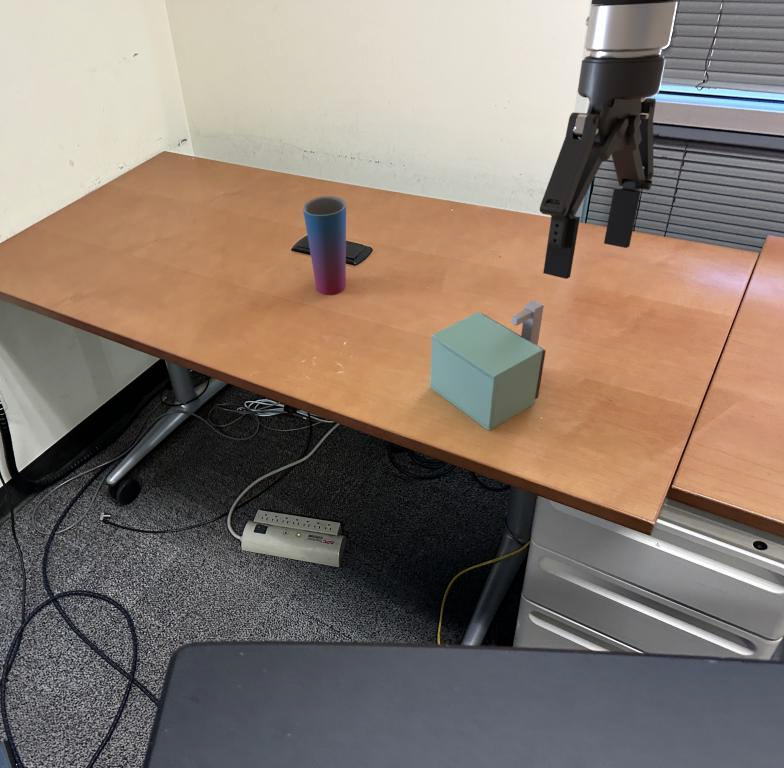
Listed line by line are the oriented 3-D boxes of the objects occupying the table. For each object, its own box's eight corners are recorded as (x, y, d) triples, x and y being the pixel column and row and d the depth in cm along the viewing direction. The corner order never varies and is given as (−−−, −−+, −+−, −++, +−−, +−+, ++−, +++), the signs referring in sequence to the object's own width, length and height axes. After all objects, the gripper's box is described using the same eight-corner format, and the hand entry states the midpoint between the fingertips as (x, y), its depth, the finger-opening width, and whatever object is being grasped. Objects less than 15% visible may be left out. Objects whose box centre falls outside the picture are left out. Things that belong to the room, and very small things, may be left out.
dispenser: (473, 364, 97) (477, 311, 91) (534, 404, 89) (543, 349, 84) (430, 387, 94) (431, 334, 89) (488, 431, 87) (494, 376, 81)
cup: (354, 277, 119) (350, 196, 109) (346, 298, 114) (340, 216, 104) (316, 275, 121) (309, 195, 111) (306, 296, 116) (297, 215, 106)
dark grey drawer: (500, 346, 98) (507, 285, 92) (561, 384, 91) (573, 320, 84) (435, 381, 94) (438, 319, 88) (493, 423, 87) (501, 359, 80)
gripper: (643, 43, 77) (608, 228, 87) (520, 64, 63) (496, 281, 74) (715, 43, 72) (670, 239, 82) (599, 65, 58) (561, 298, 68)
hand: (587, 259), depth 78 cm, fingers open, 13 cm apart
